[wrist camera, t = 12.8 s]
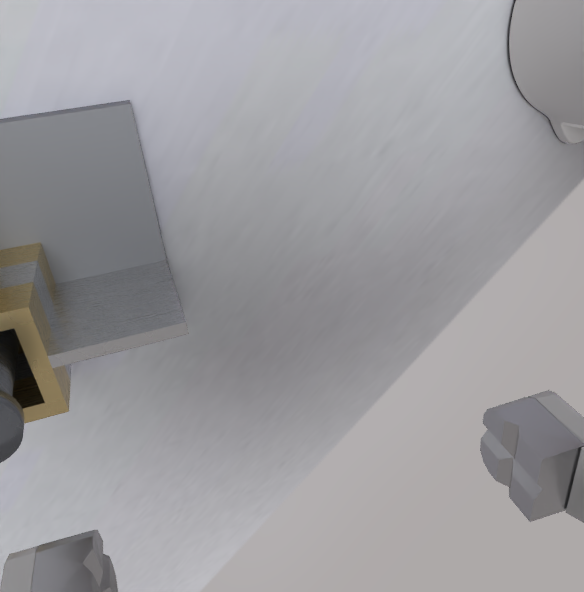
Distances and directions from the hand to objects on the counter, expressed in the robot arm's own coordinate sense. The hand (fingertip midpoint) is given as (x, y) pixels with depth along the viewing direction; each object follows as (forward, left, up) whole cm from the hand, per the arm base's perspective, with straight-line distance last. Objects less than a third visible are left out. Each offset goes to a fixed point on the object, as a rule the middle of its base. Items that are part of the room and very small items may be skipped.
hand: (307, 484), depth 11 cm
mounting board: (+9, +5, -30) cm, 32 cm away
